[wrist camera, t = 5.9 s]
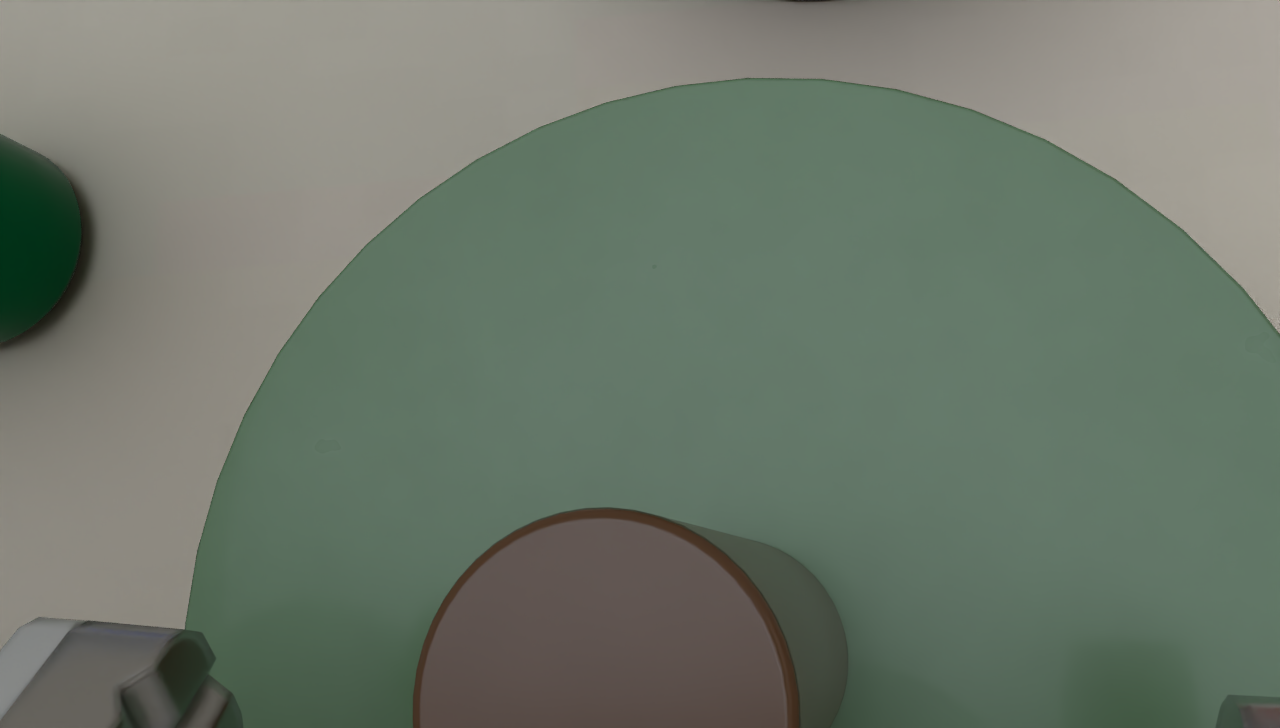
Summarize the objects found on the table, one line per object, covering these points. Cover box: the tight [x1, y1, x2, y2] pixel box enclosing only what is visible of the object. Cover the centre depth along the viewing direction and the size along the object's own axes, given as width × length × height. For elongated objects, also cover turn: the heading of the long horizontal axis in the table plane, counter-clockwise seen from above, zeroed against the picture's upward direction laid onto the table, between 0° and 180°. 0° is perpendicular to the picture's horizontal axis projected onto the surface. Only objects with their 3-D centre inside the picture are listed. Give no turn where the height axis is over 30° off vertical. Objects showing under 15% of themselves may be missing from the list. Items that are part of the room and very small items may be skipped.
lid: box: [185, 78, 1280, 728], centre depth 11 cm, size 14×14×7 cm
